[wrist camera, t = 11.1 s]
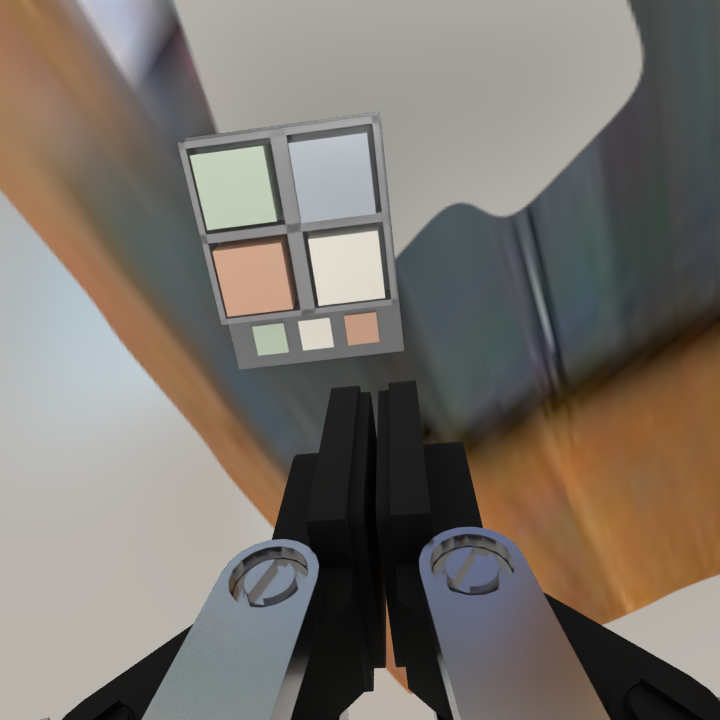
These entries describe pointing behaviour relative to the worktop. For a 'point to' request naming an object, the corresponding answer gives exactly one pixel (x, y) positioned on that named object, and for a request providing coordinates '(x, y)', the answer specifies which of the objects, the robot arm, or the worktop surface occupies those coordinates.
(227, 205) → the sage key
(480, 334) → the worktop surface
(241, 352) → the keypad board
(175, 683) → the robot arm
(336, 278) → the ivory key
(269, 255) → the terracotta key
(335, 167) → the slate key
